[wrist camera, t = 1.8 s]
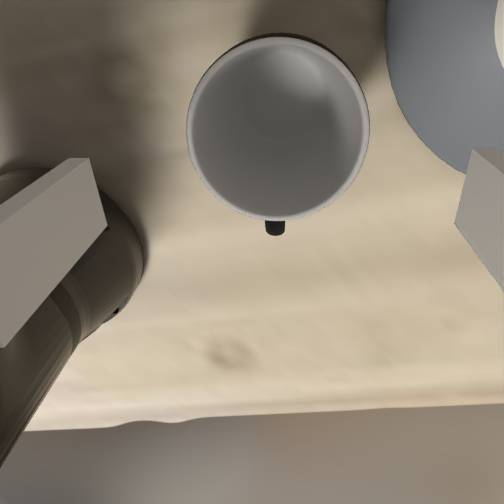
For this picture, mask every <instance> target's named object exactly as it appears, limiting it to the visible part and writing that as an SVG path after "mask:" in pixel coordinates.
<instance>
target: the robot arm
mask: <svg viewBox="0 0 504 504" xmlns="http://www.w3.org/2000/svg"><path fill="white" fill-rule="evenodd" d="M454 224H455V225H456V227H457V228H458V230H459V231H460V232H461V234H462V235H463V236H464V238H465V239H466V241H467V242H468V243H469V245H470V246H471V247H472V249H473V250H474V252H475V253H476V254H477V256H478V257H479V258H480V260H481V261H482V263H483V264H484V265H485V267H486V268H487V269H488V271H489V272H490V274H491V275H492V276H493V278H494V279H495V280H496V282H497V283H498V285H499V286H500V287H501V289H502V290H503V291H504V153H503V152H502V151H501V150H499V149H498V148H479V149H472V152H471V156H470V160H469V165H468V169H467V173H466V177H465V181H464V185H463V189H462V194H461V198H460V202H459V206H458V210H457V214H456V218H455V223H454ZM142 271H143V255H142V249H141V245H140V242H139V239H138V237H137V235H136V232H135V230H134V228H133V227H132V225H131V223H130V222H129V220H128V219H127V217H126V216H125V215H124V213H123V212H122V211H121V210H120V209H119V208H118V207H117V205H116V204H115V203H114V202H112V201H111V200H110V199H109V198H108V197H107V196H106V195H104V194H103V193H102V192H101V191H99V190H98V189H97V185H96V182H95V178H94V175H93V171H92V167H91V164H90V160H89V158H68V159H67V160H65V161H64V162H62V163H61V164H59V165H58V166H57V167H55V168H54V169H52V170H50V169H44V168H23V169H17V170H13V171H10V172H7V173H5V174H2V175H0V468H1V466H2V464H3V463H4V461H5V460H6V458H7V457H8V455H9V453H10V452H11V450H12V448H13V447H14V445H15V443H16V442H17V441H18V439H19V437H20V436H21V434H22V433H23V431H24V430H25V428H26V426H27V425H28V423H29V422H30V420H31V418H32V417H33V415H34V414H35V412H36V410H37V409H38V407H39V406H40V404H41V402H42V401H43V399H44V398H45V396H46V395H47V393H48V391H49V390H50V388H51V387H52V385H53V383H54V382H55V380H56V379H57V377H58V375H59V374H60V372H61V371H62V369H63V368H64V366H65V364H66V363H67V361H68V359H69V358H70V356H71V355H72V353H73V352H74V350H75V348H76V347H77V345H78V344H79V343H80V342H81V341H83V340H84V339H85V338H87V337H88V336H89V335H91V334H92V333H93V332H94V331H95V330H97V329H98V328H99V327H100V326H101V325H102V324H103V323H105V322H107V321H109V320H110V319H112V318H113V317H115V316H116V315H117V314H118V313H119V312H120V311H121V310H122V309H123V308H124V307H125V306H126V305H127V303H128V302H129V300H130V299H131V297H132V295H133V293H134V292H135V290H136V288H137V286H138V284H139V282H140V279H141V276H142Z"/></svg>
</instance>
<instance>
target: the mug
mask: <svg viewBox="0 0 504 504" xmlns="http://www.w3.org/2000/svg"><path fill="white" fill-rule="evenodd" d="M186 134H187V144H188V149H189V154H190V157H191V160H192V163H193V165H194V167H195V170H196V172H197V173H198V175H199V177H200V179H201V180H202V182H203V183H204V185H205V186H206V187H207V188H208V189H209V191H210V192H211V193H212V194H213V195H214V196H215V197H216V198H218V199H219V200H220V201H221V202H222V203H224V204H225V205H227V206H228V207H230V208H231V209H233V210H235V211H237V212H239V213H241V214H244V215H246V216H249V217H253V218H256V219H261V220H265V227H266V232H267V233H268V234H270V235H273V236H278V235H281V234H283V233H284V231H285V221H286V220H293V219H298V218H302V217H306V216H308V215H311V214H313V213H316V212H318V211H320V210H322V209H323V208H325V207H327V206H328V205H330V204H331V203H332V202H334V201H335V200H336V199H337V198H338V197H340V196H341V195H342V194H343V193H344V192H345V191H346V190H347V188H348V187H349V186H350V185H351V183H352V182H353V180H354V179H355V177H356V176H357V174H358V172H359V170H360V168H361V166H362V164H363V161H364V159H365V156H366V152H367V148H368V143H369V134H370V120H369V111H368V107H367V102H366V99H365V96H364V93H363V91H362V89H361V87H360V84H359V83H358V81H357V79H356V77H355V76H354V74H353V73H352V71H351V70H350V69H349V67H348V66H347V65H346V64H345V63H344V61H343V60H342V59H341V58H340V57H338V56H337V55H336V54H335V53H334V52H333V51H331V50H330V49H328V48H327V47H326V46H324V45H322V44H320V43H319V42H317V41H315V40H312V39H310V38H307V37H304V36H301V35H296V34H290V33H271V34H265V35H260V36H257V37H253V38H251V39H248V40H246V41H243V42H241V43H239V44H238V45H236V46H234V47H232V48H231V49H229V50H228V51H226V52H225V53H224V54H223V55H221V56H220V57H219V58H218V59H217V60H216V61H215V62H214V63H213V64H212V65H211V66H210V67H209V68H208V70H207V71H206V72H205V74H204V75H203V76H202V78H201V80H200V81H199V83H198V85H197V87H196V89H195V91H194V93H193V96H192V99H191V102H190V106H189V110H188V115H187V125H186Z"/></svg>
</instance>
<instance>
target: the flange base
mask: <svg viewBox="0 0 504 504" xmlns="http://www.w3.org/2000/svg"><path fill="white" fill-rule="evenodd" d="M385 47H386V60H387V66H388V71H389V76H390V81H391V85H392V88H393V91H394V94H395V97H396V99H397V102H398V105H399V107H400V109H401V111H402V113H403V114H404V116H405V118H406V120H407V122H408V124H409V125H410V126H411V128H412V129H413V130H414V132H415V133H416V134H417V136H418V137H419V138H420V140H421V141H422V142H423V143H424V144H425V145H426V146H427V147H428V148H429V149H430V150H431V151H432V152H434V153H435V154H436V155H437V156H438V157H439V158H440V159H441V160H443V161H444V162H446V163H447V164H449V165H450V166H452V167H453V168H454V169H456V170H458V171H460V172H462V173H464V174H466V173H467V169H468V165H469V160H470V156H471V152H472V149H479V148H498V149H499V150H501V151H502V152H503V153H504V0H388V1H387V7H386V22H385Z"/></svg>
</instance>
